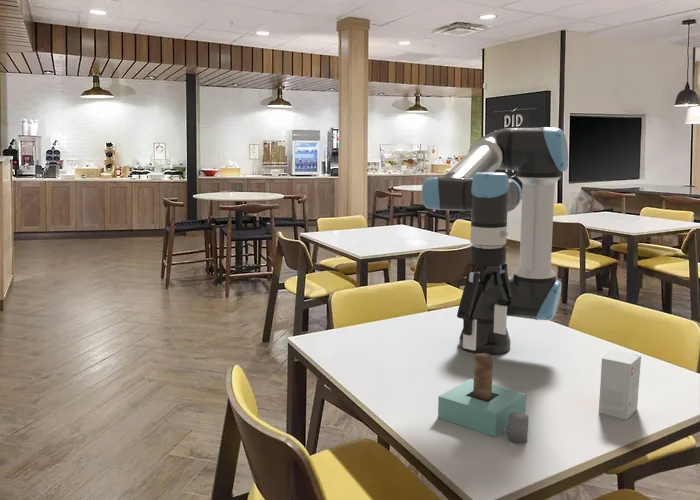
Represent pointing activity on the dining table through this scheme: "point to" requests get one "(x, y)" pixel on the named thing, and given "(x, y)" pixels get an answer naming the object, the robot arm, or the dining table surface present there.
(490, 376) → the walnut dowel
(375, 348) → the dining table surface
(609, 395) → the small box
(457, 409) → the hole block
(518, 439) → the charcoal dowel
